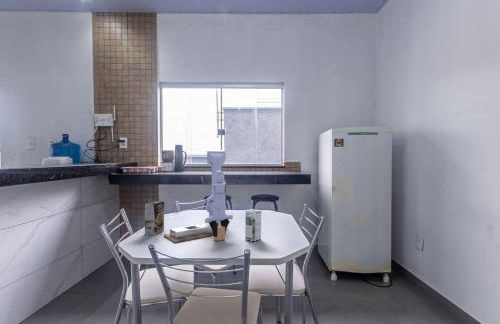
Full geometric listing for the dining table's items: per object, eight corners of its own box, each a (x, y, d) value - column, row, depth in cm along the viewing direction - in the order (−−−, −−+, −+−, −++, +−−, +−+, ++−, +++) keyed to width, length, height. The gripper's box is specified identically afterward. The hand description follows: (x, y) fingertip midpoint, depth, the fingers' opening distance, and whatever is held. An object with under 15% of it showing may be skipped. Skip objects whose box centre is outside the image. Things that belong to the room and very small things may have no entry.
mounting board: (205, 229, 155) (205, 227, 155) (219, 234, 144) (219, 232, 144) (163, 236, 140) (163, 234, 140) (175, 243, 129) (175, 240, 129)
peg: (220, 237, 137) (220, 225, 137) (224, 239, 134) (225, 227, 134) (213, 238, 135) (213, 226, 135) (217, 240, 132) (217, 228, 132)
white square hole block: (205, 229, 151) (205, 223, 151) (212, 231, 145) (212, 226, 145) (170, 235, 139) (170, 229, 139) (176, 238, 133) (176, 232, 133)
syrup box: (244, 240, 134) (244, 210, 134) (252, 237, 139) (252, 208, 139) (253, 242, 131) (253, 211, 130) (261, 239, 135) (261, 209, 135)
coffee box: (155, 235, 142) (155, 203, 142) (144, 234, 143) (144, 203, 143) (164, 230, 151) (164, 201, 151) (153, 230, 152) (153, 200, 152)
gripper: (210, 210, 127) (210, 240, 127) (236, 207, 136) (236, 235, 136) (202, 208, 132) (202, 236, 132) (228, 205, 141) (228, 232, 141)
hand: (219, 235), depth 134 cm, fingers closed on peg, 4 cm apart
